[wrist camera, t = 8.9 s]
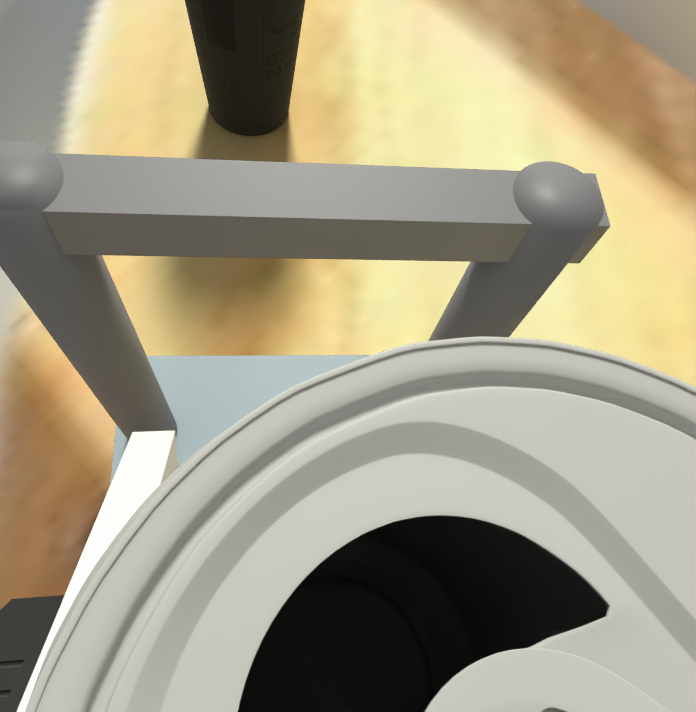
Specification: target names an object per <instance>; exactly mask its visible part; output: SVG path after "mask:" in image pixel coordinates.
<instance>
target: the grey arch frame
mask: <svg viewBox="0 0 696 712" xmlns="http://www.w3.org/2000/svg"><path fill="white" fill-rule="evenodd" d="M609 227H610V223H609V220H608V216H607V213H606V209H605V206H604V202H603V199H602V195H601V192H600V189H599V185H598V182H597V178H596V175H595V174H585V173H582V172H580V171H578V170H577V169H575V168H573V167H570V166H568V165H565V164H562V163H557V162H538V163H534V164H531V165H529V166H527V167H525V168H524V169H523V170H521V171H506V170H479V169H453V168H426V167H400V166H373V165H347V164H320V163H294V162H267V161H241V160H214V159H188V158H161V157H135V156H108V155H82V154H55V153H52V152H50V151H49V150H48V149H46V148H44V147H42V146H40V145H38V144H35V143H32V142H27V141H20V140H7V141H0V266H1V268H2V269H3V270H4V272H5V273H6V275H7V276H8V277H9V279H10V280H11V281H12V283H13V284H14V286H15V287H16V288H17V290H18V291H19V292H20V294H21V295H22V296H23V298H24V299H25V301H26V302H27V303H28V305H29V306H30V307H31V309H32V310H33V311H34V313H35V314H36V316H37V317H38V318H39V320H40V321H41V322H42V324H43V325H44V326H45V328H46V329H47V330H48V332H49V333H50V335H51V336H52V337H53V339H54V340H55V341H56V343H57V344H58V345H59V347H60V348H61V350H62V351H63V352H64V354H65V355H66V356H67V358H68V359H69V360H70V362H71V363H72V365H73V366H74V367H75V369H76V370H77V371H78V373H79V374H80V375H81V377H82V378H83V380H84V381H85V382H86V384H87V385H88V386H89V388H90V389H91V390H92V392H93V393H94V395H95V396H96V397H97V399H98V400H99V401H100V403H101V404H102V405H103V407H104V408H105V410H106V411H107V412H108V414H109V415H110V416H111V418H112V419H113V420H114V422H115V423H116V425H117V426H116V435H115V445H114V454H113V463H112V473H111V482H110V485H111V483H112V480H113V478H114V476H115V473H116V471H117V468H118V466H119V463H120V461H121V459H122V456H123V454H124V451H125V449H126V447H127V444H128V442H129V439H130V437H131V435H132V432H148V431H174V430H175V436H176V449H177V462H178V467H179V466H180V465H181V464H182V463H183V462H185V461H186V460H187V459H188V458H189V457H190V456H192V455H193V454H194V453H195V452H196V451H198V450H199V449H200V448H201V447H203V446H204V445H206V444H207V443H208V442H210V441H211V440H212V439H214V438H215V437H217V436H218V435H219V434H221V433H222V432H223V431H225V430H226V429H228V428H229V427H231V426H232V425H234V424H235V423H236V422H238V421H239V420H240V419H242V418H243V417H245V416H246V415H247V414H249V413H250V412H252V411H253V410H255V409H256V408H258V407H259V406H261V405H263V404H264V403H266V402H267V401H269V400H270V399H272V398H273V397H275V396H276V395H278V394H280V393H282V392H284V391H285V390H287V389H289V388H291V387H292V386H294V385H297V384H299V383H301V382H304V381H306V380H308V379H311V378H313V377H315V376H318V375H320V374H323V373H326V372H328V371H331V370H333V369H336V368H338V367H341V366H344V365H346V364H349V363H352V362H355V361H357V360H360V359H363V358H366V357H369V356H371V355H274V356H146V354H145V352H144V349H143V347H142V345H141V343H140V340H139V338H138V336H137V334H136V331H135V329H134V327H133V325H132V322H131V320H130V318H129V316H128V314H127V311H126V309H125V307H124V305H123V302H122V300H121V298H120V296H119V293H118V291H117V289H116V287H115V284H114V282H113V280H112V278H111V275H110V273H109V271H108V269H107V266H106V264H105V262H104V260H103V258H102V255H129V256H187V257H245V258H302V259H360V260H418V261H471V262H470V264H469V266H468V268H467V270H466V272H465V274H464V275H463V277H462V279H461V281H460V283H459V285H458V287H457V288H456V290H455V292H454V294H453V296H452V298H451V300H450V302H449V303H448V305H447V307H446V309H445V311H444V313H443V315H442V317H441V318H440V320H439V322H438V324H437V326H436V328H435V330H434V332H433V333H432V335H431V337H430V339H429V341H434V340H444V339H454V338H464V337H481V336H484V337H509V336H510V335H511V334H512V332H513V331H514V330H515V329H516V327H517V326H518V325H519V324H520V322H521V321H522V320H523V319H524V317H525V316H526V315H527V314H528V312H529V311H530V310H531V309H532V307H533V306H534V305H535V304H536V302H537V301H538V300H539V299H540V297H541V296H542V295H543V294H544V292H545V291H546V290H547V289H548V287H549V286H550V285H551V284H552V282H553V281H554V280H555V279H556V277H557V276H558V275H559V274H560V272H561V271H562V270H563V269H564V267H565V266H566V265H567V263H580V262H581V261H582V260H583V259H584V257H585V256H586V255H587V254H588V252H589V251H590V250H591V249H592V248H593V246H594V245H595V244H596V243H597V242H598V240H599V239H600V238H601V237H602V236H603V234H604V233H605V232H606V231H607V230H608V228H609Z"/></svg>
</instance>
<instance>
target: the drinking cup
mask: <svg viewBox="0 0 696 712" xmlns="http://www.w3.org/2000/svg"><path fill="white" fill-rule="evenodd" d="M185 3H186V7H187V12H188V16H189V20H190V25H191V29H192V34H193V38H194V42H195V47H196V51H197V55H198V60H199V64H200V69H201V73H202V77H203V82H204V86H205V91H206V95H207V99H208V104H209V108H210V112H211V114H212V116H213V118H214V119H215V120H216V122H217V123H218V124H219V125H221V126H222V127H223V128H225V129H227V130H229V131H231V132H233V133H237V134H241V135H249V136H253V135H262V134H266V133H269V132H271V131H273V130H275V129H276V128H278V127H279V126H280V125H281V124H282V123H283V122H284V121H285V119H286V117H287V115H288V110H289V104H290V97H291V91H292V84H293V77H294V71H295V64H296V57H297V51H298V44H299V37H300V31H301V24H302V18H303V11H304V4H305V0H185Z"/></svg>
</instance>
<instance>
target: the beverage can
mask: <svg viewBox="0 0 696 712" xmlns="http://www.w3.org/2000/svg"><path fill="white" fill-rule="evenodd" d="M562 630H569V631H566V632H563V633H561V634H558V635H555V636H552V637H549V638H547V639H545V640H543V641H542V639H541V637H540V635H539V634H538V632H546V631H562ZM25 712H696V387H694V386H692V385H690V384H688V383H685V382H683V381H681V380H679V379H677V378H674V377H672V376H669V375H667V374H664V373H662V372H659V371H657V370H655V369H652V368H649V367H647V366H644V365H641V364H638V363H636V362H633V361H630V360H627V359H625V358H622V357H618V356H615V355H611V354H608V353H604V352H601V351H597V350H592V349H588V348H583V347H579V346H574V345H570V344H565V343H559V342H554V341H547V340H538V339H525V338H509V337H484V336H481V337H464V338H454V339H444V340H434V341H426V342H419V343H413V344H409V345H404V346H400V347H396V348H393V349H390V350H386V351H383V352H380V353H377V354H374V355H371V356H369V357H366V358H363V359H360V360H357V361H355V362H352V363H349V364H346V365H344V366H341V367H338V368H336V369H333V370H331V371H328V372H326V373H323V374H320V375H318V376H315V377H313V378H311V379H308V380H306V381H304V382H301V383H299V384H297V385H294V386H292V387H291V388H289V389H287V390H285V391H284V392H282V393H280V394H278V395H276V396H275V397H273V398H272V399H270V400H269V401H267V402H266V403H264V404H263V405H261V406H259V407H258V408H256V409H255V410H253V411H252V412H250V413H249V414H247V415H246V416H245V417H243V418H242V419H240V420H239V421H238V422H236V423H235V424H234V425H232V426H231V427H229V428H228V429H226V430H225V431H223V432H222V433H221V434H219V435H218V436H217V437H215V438H214V439H212V440H211V441H210V442H208V443H207V444H206V445H204V446H203V447H201V448H200V449H199V450H198V451H196V452H195V453H194V454H193V455H192V456H190V457H189V458H188V459H187V460H186V461H185V462H183V463H182V464H181V465H180V466H179V467H178V468H177V469H176V470H175V471H174V472H173V473H172V474H171V475H170V476H169V477H168V478H167V479H166V480H165V481H164V482H163V483H161V484H160V485H159V486H158V487H157V488H156V489H155V490H154V491H153V492H152V494H151V495H150V496H149V497H148V498H147V499H146V500H145V501H144V502H143V503H142V504H141V506H140V507H139V508H138V509H137V510H136V511H135V513H134V514H133V515H132V517H131V518H130V519H129V520H128V522H127V523H126V524H125V525H124V527H123V528H122V529H121V531H120V532H119V533H118V534H117V536H116V537H115V538H114V540H113V541H112V542H111V544H110V545H109V547H108V548H107V549H106V551H105V552H104V554H103V555H102V556H101V558H100V559H99V561H98V562H97V563H96V565H95V566H94V568H93V569H92V571H91V573H90V574H89V576H88V577H87V579H86V581H85V582H84V584H83V586H82V587H81V589H80V591H79V592H78V594H77V596H76V598H75V600H74V602H73V603H72V605H71V607H70V609H69V611H68V613H67V615H66V616H65V618H64V620H63V622H62V624H61V626H60V628H59V629H58V631H57V633H56V636H55V638H54V640H53V642H52V644H51V646H50V648H49V650H48V652H47V654H46V657H45V659H44V662H43V664H42V667H41V669H40V672H39V675H38V677H37V680H36V683H35V686H34V688H33V691H32V694H31V697H30V699H29V702H28V705H27V708H26V710H25Z"/></svg>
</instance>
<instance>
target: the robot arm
mask: <svg viewBox="0 0 696 712" xmlns="http://www.w3.org/2000/svg"><path fill="white" fill-rule="evenodd" d="M177 468H178V462H177V449H176V436H175V430H174V431H148V432H132V435H131V437H130V439H129V442H128V444H127V447H126V449H125V451H124V454H123V456H122V459H121V461H120V463H119V466H118V468H117V471H116V473H115V476H114V478H113V480H112V483H111V485H110V488H109V490H108V492H107V495H106V497H105V500H104V502H103V504H102V507H101V509H100V512H99V514H98V516H97V519H96V521H95V524H94V526H93V529H92V531H91V533H90V536H89V538H88V541H87V543H86V545H85V548H84V550H83V553H82V555H81V557H80V560H79V562H78V565H77V567H76V570H75V572H74V574H73V577H72V579H71V582H70V584H69V586H68V589H67V591H66V594H65V595H61V596H48V597H34V598H21V599H12V600H11V601H10V602H8V603H7V604H6V605H5V606H4V607H3V608H2V609H1V610H0V712H25V710H26V708H27V705H28V702H29V699H30V697H31V694H32V691H33V688H34V686H35V683H36V680H37V677H38V675H39V672H40V669H41V667H42V664H43V662H44V659H45V657H46V654H47V652H48V650H49V648H50V646H51V644H52V642H53V640H54V638H55V636H56V633H57V631H58V629H59V628H60V626H61V624H62V622H63V620H64V618H65V616H66V615H67V613H68V611H69V609H70V607H71V605H72V603H73V602H74V600H75V598H76V596H77V594H78V592H79V591H80V589H81V587H82V586H83V584H84V582H85V581H86V579H87V577H88V576H89V574H90V573H91V571H92V569H93V568H94V566H95V565H96V563H97V562H98V561H99V559H100V558H101V556H102V555H103V554H104V552H105V551H106V549H107V548H108V547H109V545H110V544H111V542H112V541H113V540H114V538H115V537H116V536H117V534H118V533H119V532H120V531H121V529H122V528H123V527H124V525H125V524H126V523H127V522H128V520H129V519H130V518H131V517H132V515H133V514H134V513H135V511H136V510H137V509H138V508H139V507H140V506H141V504H142V503H143V502H144V501H145V500H146V499H147V498H148V497H149V496H150V495H151V494H152V492H153V491H154V490H155V489H156V488H157V487H158V486H159V485H160V484H161V483H163V482H164V481H165V480H166V479H167V478H168V477H169V476H170V475H171V474H172V473H173V472H174V471H175V470H176V469H177ZM566 631H569V630H562V631H546V632H538V634H539V635H540V637H541V639H542V641H543V640H545V639H547V638H549V637H552V636H555V635H558V634H561V633H563V632H566Z"/></svg>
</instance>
